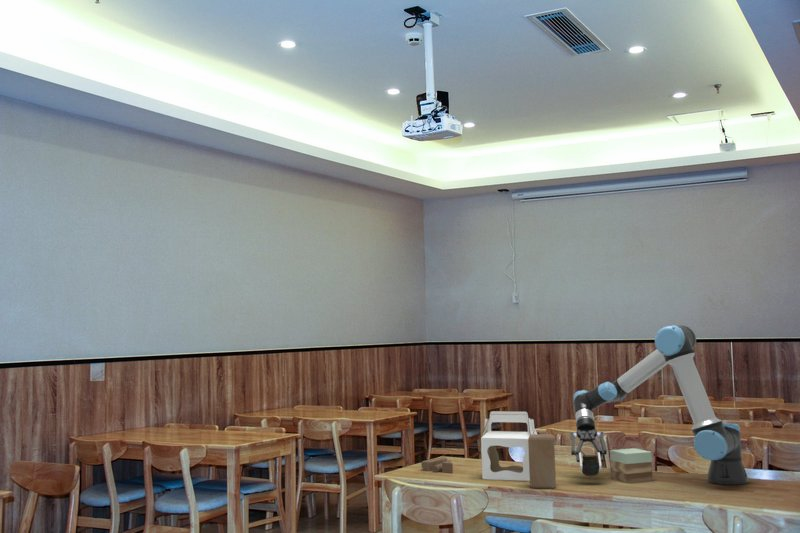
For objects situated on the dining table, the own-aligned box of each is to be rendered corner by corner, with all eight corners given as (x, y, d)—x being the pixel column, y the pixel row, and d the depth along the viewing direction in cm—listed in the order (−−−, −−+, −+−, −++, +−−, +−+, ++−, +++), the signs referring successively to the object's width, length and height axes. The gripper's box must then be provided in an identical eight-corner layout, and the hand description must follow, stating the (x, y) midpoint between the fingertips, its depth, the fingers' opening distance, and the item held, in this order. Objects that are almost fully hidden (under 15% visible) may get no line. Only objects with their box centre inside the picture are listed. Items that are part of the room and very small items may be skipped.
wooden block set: (419, 459, 374) (441, 454, 388) (420, 472, 374) (442, 466, 388) (451, 461, 364) (472, 456, 378) (451, 474, 364) (472, 469, 378)
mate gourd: (597, 477, 326) (595, 451, 327) (578, 476, 330) (576, 451, 331) (602, 474, 332) (600, 449, 333) (583, 473, 336) (582, 448, 337)
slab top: (652, 461, 334) (651, 451, 334) (626, 464, 330) (625, 453, 330) (635, 457, 345) (634, 448, 345) (610, 459, 341) (609, 450, 342)
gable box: (481, 479, 348) (479, 412, 350) (490, 474, 360) (487, 409, 362) (533, 481, 339) (530, 413, 342) (540, 476, 351) (537, 410, 354)
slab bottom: (652, 481, 333) (652, 471, 333) (626, 484, 329) (626, 473, 330) (636, 477, 344) (635, 467, 345) (610, 479, 341) (610, 469, 341)
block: (555, 488, 322) (553, 437, 323) (529, 488, 324) (527, 437, 325) (556, 484, 331) (553, 434, 333) (531, 483, 333) (529, 434, 335)
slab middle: (652, 471, 334) (651, 461, 334) (626, 473, 330) (626, 463, 330) (635, 467, 345) (634, 457, 345) (610, 469, 341) (609, 459, 342)
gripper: (608, 427, 346) (615, 473, 329) (561, 428, 349) (565, 473, 331) (609, 416, 342) (616, 461, 324) (561, 417, 344) (565, 462, 327)
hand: (590, 467), depth 328 cm, fingers closed on mate gourd, 7 cm apart
